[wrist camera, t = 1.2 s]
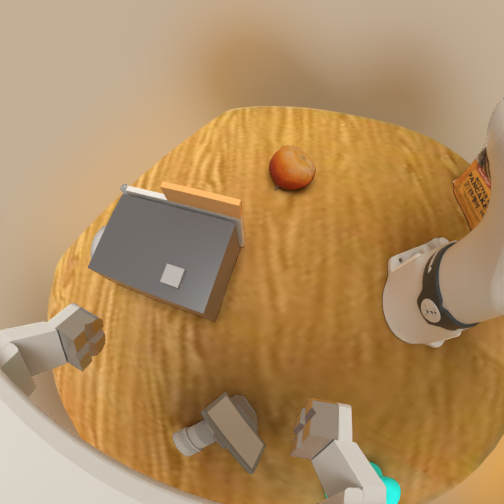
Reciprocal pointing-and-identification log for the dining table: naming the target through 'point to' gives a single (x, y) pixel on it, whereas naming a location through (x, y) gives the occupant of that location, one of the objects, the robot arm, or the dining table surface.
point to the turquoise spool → (388, 486)
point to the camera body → (167, 254)
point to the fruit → (291, 168)
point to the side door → (195, 203)
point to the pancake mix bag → (474, 189)
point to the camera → (225, 431)
